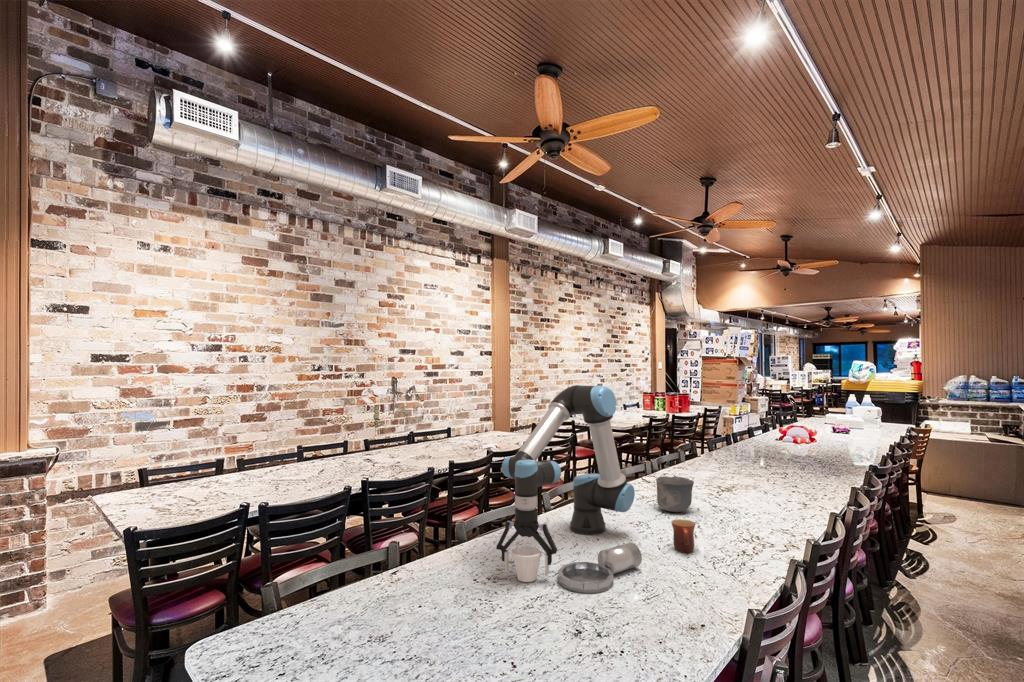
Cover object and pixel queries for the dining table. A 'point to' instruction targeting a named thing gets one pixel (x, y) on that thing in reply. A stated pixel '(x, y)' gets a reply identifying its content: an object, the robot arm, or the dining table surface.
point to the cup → (527, 562)
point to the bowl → (674, 493)
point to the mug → (683, 535)
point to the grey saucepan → (599, 570)
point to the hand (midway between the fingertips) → (526, 572)
